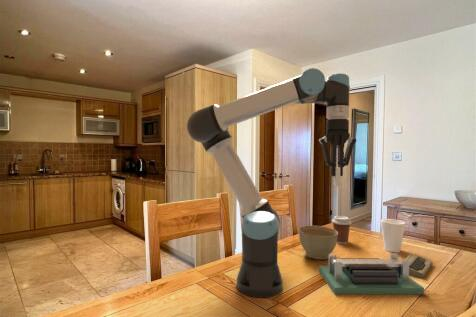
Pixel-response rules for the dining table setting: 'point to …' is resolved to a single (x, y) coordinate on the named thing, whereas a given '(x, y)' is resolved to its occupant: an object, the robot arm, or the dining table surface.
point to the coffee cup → (341, 228)
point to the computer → (418, 265)
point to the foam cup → (392, 234)
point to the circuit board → (350, 288)
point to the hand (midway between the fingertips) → (336, 185)
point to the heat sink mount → (370, 272)
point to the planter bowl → (318, 241)
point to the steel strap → (368, 262)
